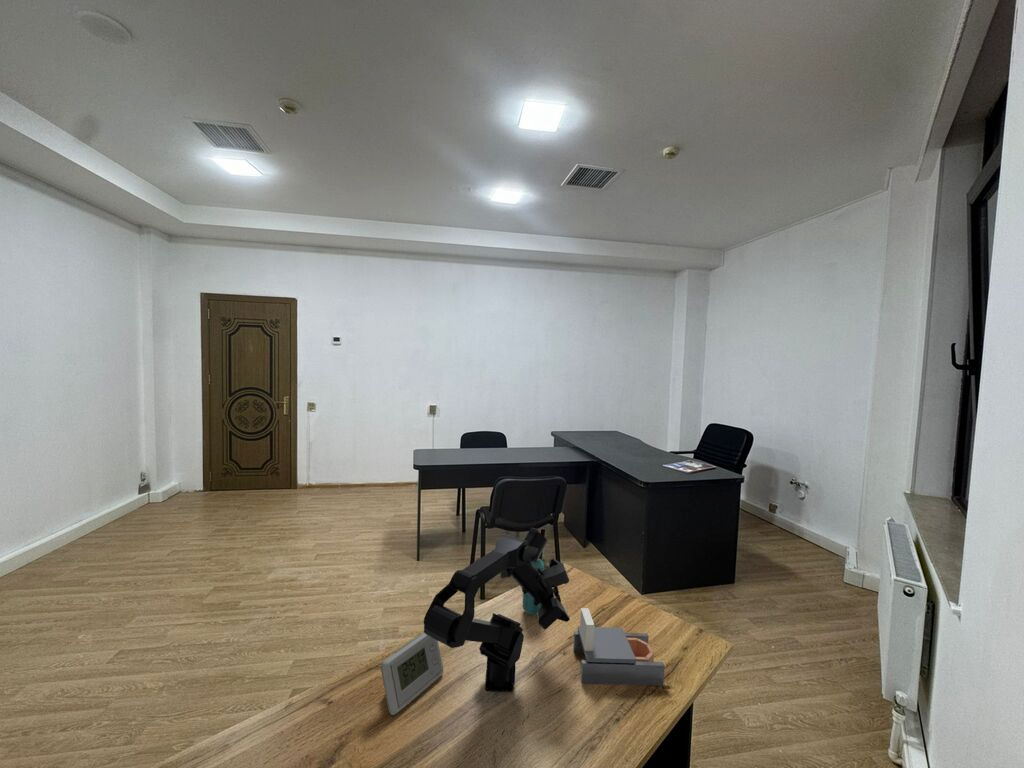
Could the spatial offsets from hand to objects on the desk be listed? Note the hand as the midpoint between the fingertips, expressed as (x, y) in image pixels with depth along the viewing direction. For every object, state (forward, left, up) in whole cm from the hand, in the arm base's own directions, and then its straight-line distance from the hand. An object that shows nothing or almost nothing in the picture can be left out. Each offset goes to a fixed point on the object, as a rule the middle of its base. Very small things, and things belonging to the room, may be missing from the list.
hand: (568, 619), depth 104 cm
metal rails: (+13, 0, -12) cm, 18 cm away
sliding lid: (+10, 0, -6) cm, 12 cm away
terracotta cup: (+18, 0, -12) cm, 21 cm away
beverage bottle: (-7, +22, -12) cm, 26 cm away
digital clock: (-37, -9, -12) cm, 40 cm away
